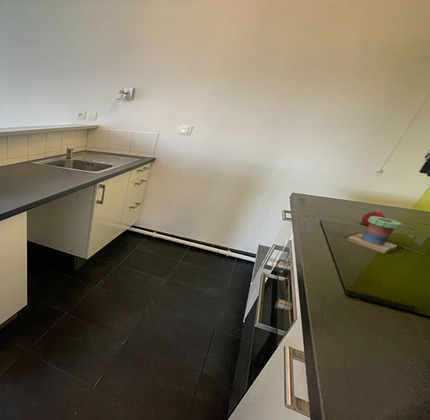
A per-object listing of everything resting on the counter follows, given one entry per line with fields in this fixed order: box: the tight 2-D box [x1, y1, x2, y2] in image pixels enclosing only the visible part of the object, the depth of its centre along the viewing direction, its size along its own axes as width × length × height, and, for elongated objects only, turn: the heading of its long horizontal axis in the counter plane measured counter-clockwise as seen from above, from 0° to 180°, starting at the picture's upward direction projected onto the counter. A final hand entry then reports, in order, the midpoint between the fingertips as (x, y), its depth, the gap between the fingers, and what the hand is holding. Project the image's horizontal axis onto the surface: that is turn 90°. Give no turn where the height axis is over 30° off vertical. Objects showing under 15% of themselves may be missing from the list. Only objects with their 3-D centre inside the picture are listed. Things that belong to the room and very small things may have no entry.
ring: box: [368, 216, 403, 230], centre depth 82 cm, size 7×7×2 cm
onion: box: [361, 209, 386, 227], centre depth 98 cm, size 6×6×8 cm
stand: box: [346, 217, 398, 255], centre depth 84 cm, size 9×9×10 cm
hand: (428, 175), depth 76 cm, fingers open, 8 cm apart
